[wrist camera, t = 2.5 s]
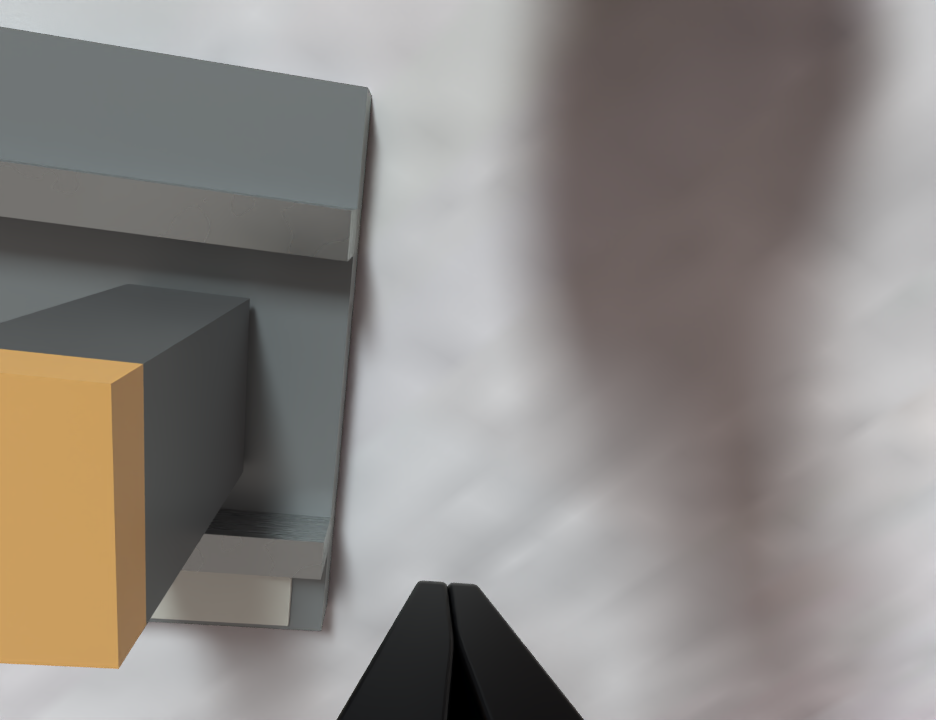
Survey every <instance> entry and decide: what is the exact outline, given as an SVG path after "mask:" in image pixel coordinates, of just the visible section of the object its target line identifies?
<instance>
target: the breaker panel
mask: <svg viewBox="0 0 936 720" xmlns="http://www.w3.org/2000/svg"><path fill="white" fill-rule="evenodd" d="M371 97H372V95H371V93H370V91H369V89H368V87H362V86H355V85H349V84H343V83H337V82H331V81H325V80H319V79H313V78H307V77H301V76H295V75H289V74H283V73H277V72H271V71H265V70H259V69H253V68H247V67H241V66H235V65H229V64H223V63H216V62H210V61H204V60H198V59H192V58H186V57H180V56H174V55H168V54H162V53H156V52H150V51H144V50H138V49H132V48H126V47H120V46H114V45H108V44H102V43H96V42H90V41H84V40H77V39H71V38H65V37H59V36H53V35H47V34H41V33H35V32H29V31H23V30H17V29H11V28H5V27H0V323H1V322H5V321H8V320H11V319H14V318H18V317H21V316H24V315H27V314H31V313H34V312H37V311H41V310H44V309H47V308H50V307H54V306H57V305H60V304H63V303H67V302H70V301H73V300H76V299H80V298H83V297H86V296H89V295H93V294H96V293H99V292H102V291H106V290H109V289H112V288H115V287H119V286H122V285H125V284H135V285H143V286H151V287H160V288H168V289H176V290H185V291H193V292H201V293H210V294H218V295H226V296H234V297H243V298H250V310H249V336H248V361H247V387H246V412H245V438H244V463H243V473H242V475H241V476H240V478H239V480H238V481H237V483H236V484H235V486H234V488H233V489H232V491H231V492H230V494H229V495H228V497H227V499H226V500H225V502H224V503H223V505H222V506H221V508H220V510H219V511H218V513H217V514H216V516H215V517H214V519H213V521H212V522H211V524H210V525H209V527H208V529H207V530H206V532H205V533H204V535H203V536H202V538H201V540H200V541H199V543H198V544H197V546H196V547H195V549H194V551H193V552H192V554H191V555H190V557H189V558H188V560H187V562H186V563H185V565H184V566H183V568H182V570H181V571H180V573H179V574H178V576H177V577H176V579H175V581H174V582H173V584H172V585H171V587H170V588H169V590H168V592H167V593H166V595H165V596H164V598H163V599H162V601H161V603H160V604H159V606H158V607H157V609H156V610H155V612H154V614H153V615H152V617H151V618H150V620H149V621H150V622H167V623H185V624H203V625H221V626H238V627H256V628H274V629H292V630H310V631H321V629H322V624H323V620H324V616H325V611H326V607H327V598H328V586H329V575H330V564H331V552H332V541H333V529H334V518H335V507H336V495H337V484H338V473H339V461H340V450H341V438H342V427H343V416H344V404H345V393H346V382H347V370H348V359H349V347H350V336H351V325H352V313H353V302H354V291H355V279H356V268H357V256H358V245H359V234H360V222H361V211H362V200H363V188H364V177H365V165H366V154H367V143H368V131H369V120H370V109H371Z"/></svg>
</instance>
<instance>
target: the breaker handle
mask: <svg viewBox="0 0 936 720" xmlns="http://www.w3.org/2000/svg"><path fill="white" fill-rule="evenodd" d="M249 310H250V298H243V297H234V296H226V295H218V294H210V293H201V292H193V291H185V290H176V289H168V288H160V287H151V286H143V285H135V284H125V285H122V286H119V287H115V288H112V289H109V290H106V291H102V292H99V293H96V294H93V295H89V296H86V297H83V298H80V299H76V300H73V301H70V302H67V303H63V304H60V305H57V306H54V307H50V308H47V309H44V310H41V311H37V312H34V313H31V314H27V315H24V316H21V317H18V318H14V319H11V320H8V321H5V322H1V323H0V663H9V664H30V665H51V666H73V667H94V668H115V669H119V667H120V666H121V664H122V663H123V661H124V659H125V658H126V656H127V655H128V653H129V651H130V650H131V648H132V647H133V645H134V644H135V642H136V640H137V639H138V637H139V636H140V634H141V633H142V631H143V629H144V628H145V626H146V625H147V623H148V622H149V620H150V618H151V617H152V615H153V614H154V612H155V610H156V609H157V607H158V606H159V604H160V603H161V601H162V599H163V598H164V596H165V595H166V593H167V592H168V590H169V588H170V587H171V585H172V584H173V582H174V581H175V579H176V577H177V576H178V574H179V573H180V571H181V570H182V568H183V566H184V565H185V563H186V562H187V560H188V558H189V557H190V555H191V554H192V552H193V551H194V549H195V547H196V546H197V544H198V543H199V541H200V540H201V538H202V536H203V535H204V533H205V532H206V530H207V529H208V527H209V525H210V524H211V522H212V521H213V519H214V517H215V516H216V514H217V513H218V511H219V510H220V508H221V506H222V505H223V503H224V502H225V500H226V499H227V497H228V495H229V494H230V492H231V491H232V489H233V488H234V486H235V484H236V483H237V481H238V480H239V478H240V476H241V475H242V473H243V463H244V438H245V412H246V387H247V361H248V336H249Z"/></svg>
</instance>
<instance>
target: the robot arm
mask: <svg viewBox="0 0 936 720" xmlns="http://www.w3.org/2000/svg"><path fill="white" fill-rule="evenodd" d="M337 720H584V719H583V718H582V717H581V715H580V714H579V713H578V712H577V710H576V709H575V708H574V707H573V705H572V704H571V703H570V701H569V700H568V699H567V698H566V696H565V695H564V694H563V693H562V691H561V690H560V689H559V688H558V686H557V685H556V684H555V683H554V681H553V680H552V679H551V678H550V676H549V675H548V674H547V673H546V671H545V670H544V669H543V667H542V666H541V665H540V664H539V662H538V661H537V660H536V659H535V657H534V656H533V655H532V654H531V652H530V651H529V650H528V649H527V647H526V646H525V645H524V644H523V642H522V641H521V640H520V639H519V637H518V636H517V635H516V633H515V632H514V631H513V630H512V628H511V627H510V626H509V625H508V623H507V622H506V621H505V620H504V618H503V617H502V616H501V615H500V613H499V612H498V611H497V610H496V608H495V607H494V606H493V604H492V603H491V602H490V601H489V599H488V598H487V597H486V596H485V594H484V593H483V592H482V591H481V589H480V588H479V587H478V586H477V585H475V584H464V583H450V584H449V585H448V587H447V585H446V584H445V583H444V582H435V581H419V582H418V583H417V584H416V586H415V587H414V589H413V591H412V593H411V594H410V596H409V598H408V599H407V601H406V603H405V604H404V606H403V608H402V610H401V611H400V613H399V615H398V616H397V618H396V620H395V621H394V623H393V625H392V627H391V628H390V630H389V632H388V633H387V635H386V637H385V638H384V640H383V642H382V644H381V645H380V647H379V649H378V650H377V652H376V654H375V655H374V657H373V659H372V661H371V662H370V664H369V666H368V667H367V669H366V671H365V672H364V674H363V676H362V678H361V679H360V681H359V683H358V684H357V686H356V688H355V689H354V691H353V693H352V695H351V696H350V698H349V700H348V701H347V703H346V705H345V706H344V708H343V710H342V712H341V713H340V715H339V717H338V718H337Z"/></svg>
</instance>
